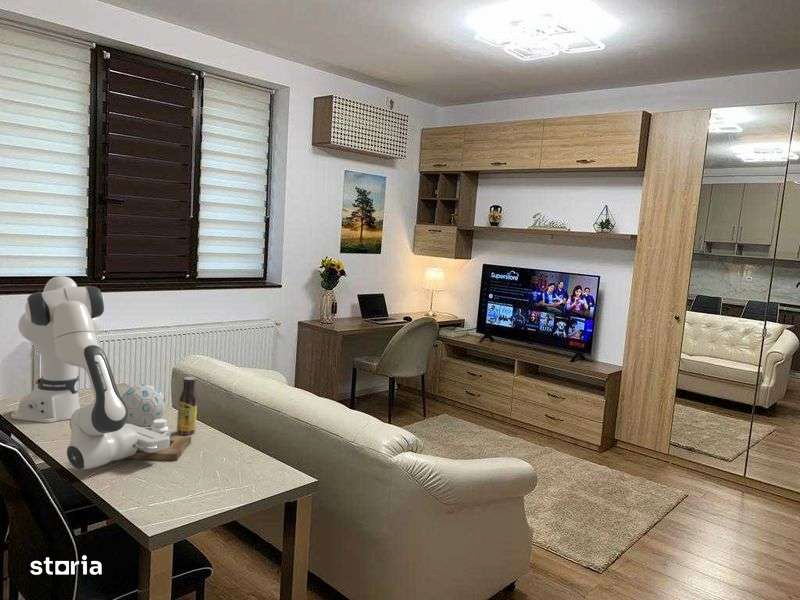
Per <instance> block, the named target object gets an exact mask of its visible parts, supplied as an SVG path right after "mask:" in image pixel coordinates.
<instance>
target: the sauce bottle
mask: <svg viewBox="0 0 800 600" xmlns="http://www.w3.org/2000/svg"><path fill="white" fill-rule="evenodd" d="M196 379H197V378H196V377H192V376H185V377H183V380H182V381H183V383H182V385H183V386H182V387H183V389H182V391H181V394H180V397H179V399H178V403H177V404H178V406H177V407H178V408H177V420H176V432H177V434H178V435H179V436H180V435H181V436H188V435H189V436H190V435H194V433H196V426H197V413H198V412H197V411H198V395H197V393H196V391H195V385H196V381H197V380H196Z"/></svg>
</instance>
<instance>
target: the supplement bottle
mask: <svg viewBox="0 0 800 600" xmlns="http://www.w3.org/2000/svg"><path fill="white" fill-rule="evenodd" d="M152 426H154V427H152V428H151V431H154V432H157V433H160V434H163V432H165V431H169V432H170V429H169V427H168V426H167V420H166V419H164V418H160V419H156V420H154V421H153V424H152Z"/></svg>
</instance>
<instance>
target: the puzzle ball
mask: <svg viewBox="0 0 800 600" xmlns="http://www.w3.org/2000/svg"><path fill="white" fill-rule="evenodd" d="M121 397H122V399H123V401H124V402H125V404H126V406H127V409H128V418H127V421H126V423H125V424H133V425H136V426H139V427H151V426H153V421H154V420H156V419H162V418H161V417H162V416H163V415H164V413H165V410H166V409H165V408H166V399H165V397H164V395H163V393H162V392H161V391H160V390H159V389H158V388H157V387H155V386H153V385H150V384H139V385H136V386H132V387H130V388H128V390H126V392H124V393H123V394H122V396H121Z"/></svg>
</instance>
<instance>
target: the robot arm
mask: <svg viewBox="0 0 800 600" xmlns="http://www.w3.org/2000/svg"><path fill="white" fill-rule="evenodd" d="M24 307H25V312H24V313H23V314H22V315H21V316H20V318H19V320H18V324H17V325H18V332H19V333H20V335H21V336H22V337H23V338H24V339H25V340H28V341H29V342H30V343H31V344H33V346H34V347H36V349H37V350H38V353H39V354H40V357H41V365H42V376H41V378H38V379H37V380H36V381H34V382H35V383H34V385H37V387H36V388H34V389H33V390H31V391H30V392H29V393H27V394H26V395H25V396H23V397H22V398H21V400H20V401H19V404H18V407H17V409H16V410H14V411H13V412H11V414H10V419H13V420H18V421H19V420H20V421H27V422H28V421H30V422H38V423H53V422H59V421H65V420H69V427H70V430H71V433H70V434H71V436H70V442H69V445H68V446H67V448H66V457H67V459H68V461H69V463H70V464H71V465H72V466H73V467H75V468H76V469H78V470H89V469H94V468H97V467H98V468H99V467H100V466H101V467H102V466H104V465H106V464H108V463H111V462H112V461H120V460H123V459H127V458H126V457H129V456H132V455H134V454H135V453H136V451H137V449H138V450H141V451H144V452H147V453H152V452H157V451H161V450H165V449H168V448H169V447H170V436H172V435H171V434H172V433H171V431H170V430H169V431H165V432H163V434H160V433H157V432H154V431H151V428H152V427H154V426H153V425H150V426H148V427H139V426H136V425H133V424H127V423H126V421H127V418H128V409H127V406H126V404H125V402H124V401H123V399H122V396H121V394H120V392H119V389H118V386H117V383H116V380H115V377H114V375H113V371H112V369H111V365H110V362H109V359H108V357H107V354H106V353H105V350H104V349H103V348H101V346H100V345H99V342H98V338H97V335H98V333H99V331H100V330H101V325H102V322H101V319H100V317H101V316H102V315H103V313H104V311H105V308H106V299H105V296H104V294H103V293H102V290H101V289H100V288H98V287H97V286H92V285H84V286H78V285H77V282H75V281H74V279H72V278H71V277H69V276H64V275H58V276H54V277H52V278H51V279H48V281H47V282H46V283H45V285H44V288H43V291H37V292H34V293H31V294H30V295H29V296H28V297H27V300H26V304H25V306H24ZM78 367H80V368H82V369H83V370H84V371H85V372H86V374H87V375H88V381H89V383H90V385H91V389H92V392H93V395H94V400H93V402H92V403H90V404H87V405H85V406H82V407H81V404H80V398H79V390H80V389H79V387H80V379H79V375H78Z"/></svg>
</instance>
